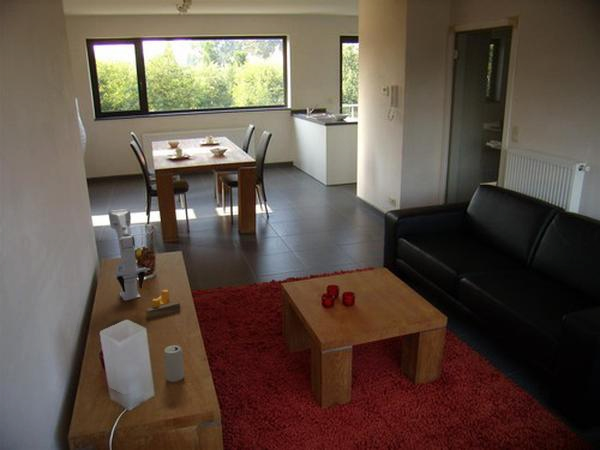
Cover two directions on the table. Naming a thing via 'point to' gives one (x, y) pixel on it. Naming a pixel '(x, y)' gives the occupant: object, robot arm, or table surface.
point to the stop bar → (163, 309)
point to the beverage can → (174, 363)
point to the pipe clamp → (161, 299)
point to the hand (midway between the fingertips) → (132, 289)
